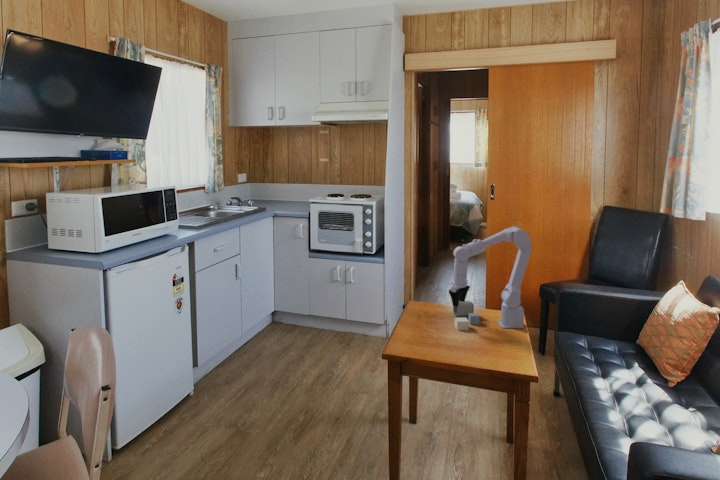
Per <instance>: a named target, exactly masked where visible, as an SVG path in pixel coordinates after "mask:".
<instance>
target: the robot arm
mask: <svg viewBox="0 0 720 480" xmlns="http://www.w3.org/2000/svg"><path fill="white" fill-rule="evenodd" d="M530 237H531V236H530V235H529V233H528V232H527V231H525V229H522V228H520V227H519V226H517V225H512V226H511V227H507V228H505V229H503V230H501V231H499V232H497V233H495V234H492V235H491V236H488V237H487V238H484V239H480V238H478V239H476V238H475V239H473V240H472V242H469V243H466V244H465V243H463V244H462V246H457V247H456V248H455V249H454V250H453V252H452V255H453V257H454V262H453V276H452V277H453V278H452V279H453V280H452V281H451V282H450V285H452V286H451V287H450V289H449V290H448V294H449V296H450V299H451V302H452V307H453V306H456V307H458V305H459V301H461V302H464V301H466V298H467V294H468V291H469V290H470V288H471V286H470V285H468V283H469V280H468V279H467V276H468V260H469V258H471V257H474V256H476V255H478V254H481V253H483V252H485V250H486V248H488V247H490V246H494V245H496V244H498V243H500V242H509V243H512V242H513V243H514V244H515V246H516V247H517V249H518V251H517V253H516V257H515V261H514V263H513V267H512V271H511V274H510V276H509V280H508V283H507V284H506V285H505V288H504V289H503V290H502V291H501V294H500V298H501V300H502V303H501V307H500V308H501V310H500V319H499V320H497V321H496V322H497V323H498V324H499V326H500V327H501V328H502V329H523V328H525V327H524V319H525V318H524V317H525V310H524V307H523V306H522V305H521V302H522V301H521V294H522V290H521V286H522V283H523V279H524V276H525V274H526V270H527V268H528V265H529V264H528V263H529V260H530V256H531V253H532V250H533V247H532V244H531V239H530Z"/></svg>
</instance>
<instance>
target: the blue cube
mask: <svg viewBox="0 0 720 480" xmlns="http://www.w3.org/2000/svg"><path fill="white" fill-rule="evenodd" d="M480 317H481V316H480V314H478V312H473V313H468V317H467V319H468V321H469V326H470V325H471V326H472V325H475V326H476V325H480Z"/></svg>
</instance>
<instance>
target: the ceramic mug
mask: <svg viewBox="0 0 720 480" xmlns="http://www.w3.org/2000/svg"><path fill="white" fill-rule="evenodd" d="M473 303H474V302H472V301H469V300H465V301H464V302H461V301H459V305H458V307H456V306H453V305H452V312H453V316H454V318H468V313H475V312H474V311H475V310H474V307H475V306H474V304H473Z"/></svg>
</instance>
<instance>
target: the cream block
mask: <svg viewBox="0 0 720 480" xmlns="http://www.w3.org/2000/svg"><path fill="white" fill-rule="evenodd" d="M453 326H454V327H455V329H456V331H468V330H469V329H470V328H469V326H470V323H469V321H468V317H454V324H453Z"/></svg>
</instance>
